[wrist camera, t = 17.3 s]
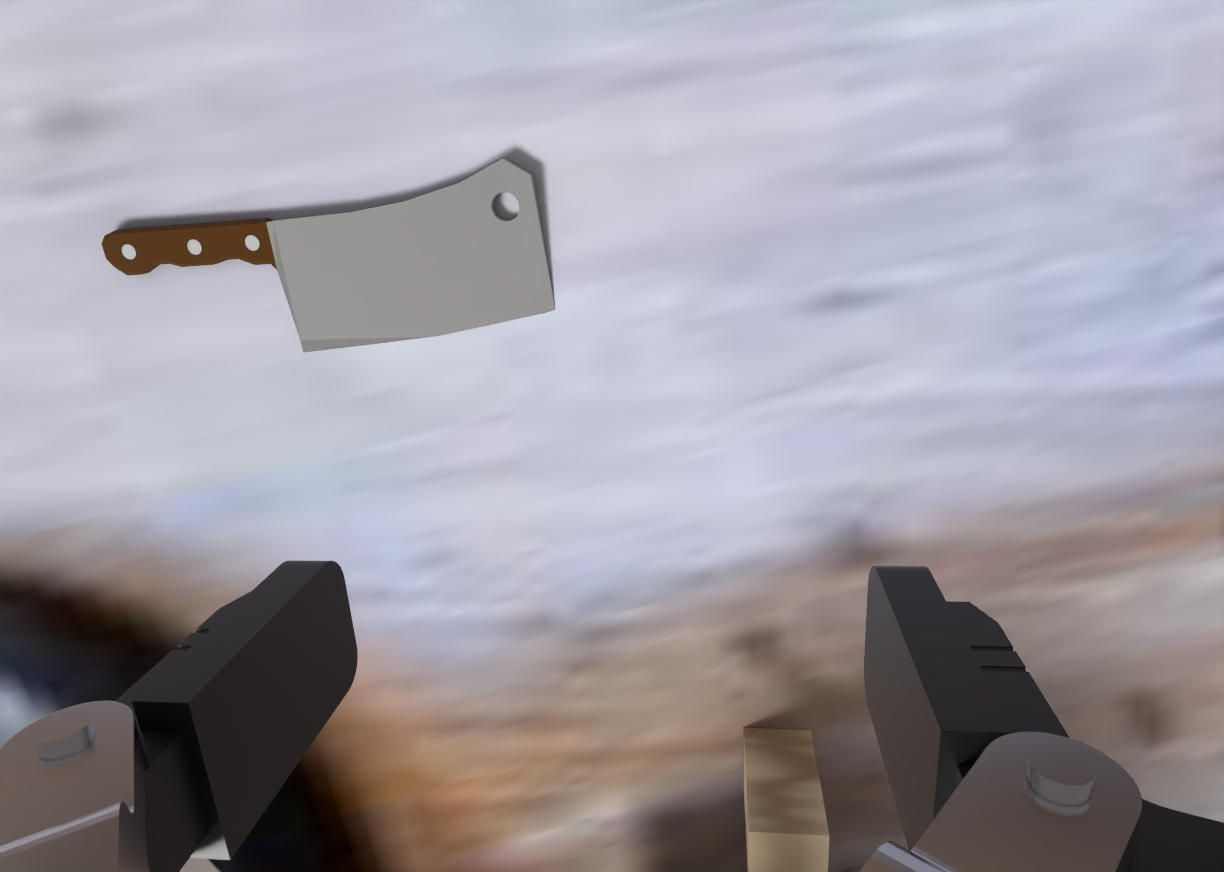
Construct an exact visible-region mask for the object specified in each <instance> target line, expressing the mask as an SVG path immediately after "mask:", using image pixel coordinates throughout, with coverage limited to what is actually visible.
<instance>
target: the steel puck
mask: <svg viewBox="0 0 1224 872" xmlns="http://www.w3.org/2000/svg"><path fill="white" fill-rule="evenodd" d="M861 868H862V867H855V868H851V869H848V870H845V871H843V872H859V871H860V870H861Z"/></svg>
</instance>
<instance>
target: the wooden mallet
mask: <svg viewBox="0 0 1224 872" xmlns="http://www.w3.org/2000/svg"><path fill="white" fill-rule="evenodd" d="M743 782H744V803H745V824H746V845H747V866H748V872H828V859H829V830H828V824H827V819H826V813H825V807H824V801H823V795H822V790H821V784H820V778H819V772H818V767H817V761H816V755H815V749H814V743H813V738H812V732H811V730H798V729H771V728H744V727H743Z"/></svg>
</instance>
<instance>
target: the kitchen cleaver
mask: <svg viewBox="0 0 1224 872" xmlns="http://www.w3.org/2000/svg"><path fill="white" fill-rule="evenodd" d="M501 192H509V193H511V194H513V195H514V196H515V197H516V198H517V200H518V202H519V213H518V215H517V216H516V218H514V219H512V220H505V219H502V218H501V217H500V216H498V214H497V213H496V211H495V208H494V201H495V199H496V197H497V195H498V194H500V193H501ZM102 247H103V250H104V253H105V256H106V259H107V260H108V261H109V262H110V263H111V264H112V265H113V266H114V267H115V268H117V269H118V270H120V271H122V272H123V273H125V274H126V275H138V274H145V273H149V272H151V271H152V270H153V269H155V268H156V267H157V266H159V265H160V264H173V265H177V266H181V267H185V266H199V265H214V264H217V263H220V262H223V261H225V260H228V259H240V260H243V261H246V262H249V263H251V264H254V265H259V264H272V266H274V267H275V268H276V269H277V271H278V274H279V277H280V280H281V283H282V286H283V289H284V292H285V295H286V298H287V301H288V304H289V307H290V310H291V313H292V316H293V319H294V322H295V325H296V328H297V331H298V334H299V337H300V340H301V344H302V348H303V352H311V351H319V350H328V349H336V348H344V347H353V346H361V345H370V344H378V343H386V342H394V341H401V340H409V339H417V338H425V337H433V336H440V335H445V334H449V333H454V332H459V331H463V330H468V329H473V328H477V327H482V326H487V325H491V324H496V323H501V322H505V321H509V320H514V319H519V318H523V317H528V316H532V315H537V314H541V313H542V314H543V313H546V312H549V311H552V310H555V304H554V298H553V292H552V285H551V279H550V273H549V267H548V261H547V254H546V248H545V242H544V236H543V230H542V223H541V217H540V211H539V205H538V199H537V192H536V186H535V180H534V174H532V173H531V172H529V171H527V170H526V169H524V168H522V167H520V166H519V165H517V164H515V163H514V162H512V161H510V160H509V159H507V158H502V159H500V160H499V161H497V162H495V163H493V164H492V165H490V166H488V167H486V168H485V169H483V170H481V171H479V172H478V173H476V174H474V175H472V176H471V177H469V178H467V179H465V180H463V181H462V182H460V183H457V184H454V185H451V186H448V187H445V188H442V189H439V190H436V191H433V192H430V193H427V194H424V195H421V196H418V197H415V198H413V199H410V200H407V201H402V202H397V203H392V204H387V205H382V206H377V207H372V208H367V209H362V210H357V211H350V212H341V213H332V214H323V215H314V216H305V217H296V218H287V219H279V220H275V221H274V220H271V219H269V218H266V219H252V220H239V221H226V222H212V223H199V224H186V225H173V226H160V227H147V228H133V229H122V230H117V231H113V232H111V233H109V234H107V235H105V236H104V239H103V241H102Z"/></svg>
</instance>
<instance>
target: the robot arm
mask: <svg viewBox="0 0 1224 872" xmlns="http://www.w3.org/2000/svg"><path fill="white" fill-rule="evenodd" d="M196 630H197V631H196V633H191V634H190V635H189V636H188V637H187V638H186V639H185V640H183V641H182V642H181V643H180V644H179V645H178V649H177V650H172V651H171V652H170V653H169V654H168V655H167V656H166V657H164V658H163V659H162V660H161V661H160V662H159V663H158V664H157V665H155V666H154V667H153V668H152V669H151V670H150V671H149V672H148V673H146V674H145V675H144V676H143V677H142V678H141V679H140V680H139V681H138V682H136V683H135V684H134V685H133V686H132V687H131V688H130V689H129V690H127V691H126V692H125V693H124V694H123V695H122V696H121V697H120V698H118V699H117V700H116V701H115V702H114V701H96V702H89V703H84V704H79V705H76V706H72V707H68V708H66V709H63V710H60V711H57V712H55V713H52V714H50V715H48V716H46V717H44V718H42V719H40V720H38V721H36V722H34V723H32V724H30V725H29V726H27V727H25V728H24V729H23V730H21V731H20V732H18V733H17V734H16V735H14V736H13V737H12V738H11V739H10V740H8V741H7V742H6V743H5V745H4V746H3V747H2V748H1V749H0V872H179V871H180V870H181V868H182V867H183V866H184V864H185V863H186V861H187V860H188V859H189V858H206V859H222V860H231V858H232V857H233V855H234V854H235V852H236V851H237V850H238V848H239V847H240V845H241V844H242V842H243V841H244V840H245V838H246V837H247V835H248V834H249V832H250V831H251V829H252V828H253V827H254V825H255V824H256V822H257V821H258V819H259V818H260V817H261V815H262V814H263V812H264V811H265V809H266V808H267V807H268V805H269V804H270V802H271V801H272V799H273V798H274V797H275V795H276V794H277V792H278V791H279V789H280V788H281V787H282V785H283V784H284V782H285V781H286V779H287V778H288V777H289V775H290V774H291V772H292V771H293V769H294V768H295V767H296V765H297V764H298V762H299V761H300V759H301V758H302V757H303V755H304V754H305V752H306V751H307V749H308V748H309V747H310V745H311V744H312V742H313V741H314V739H315V738H316V737H317V735H318V734H319V732H320V731H321V729H322V728H323V726H324V725H325V724H326V722H327V721H328V719H329V718H330V716H331V715H332V714H333V712H334V711H335V709H336V708H337V706H338V705H339V704H340V702H341V701H342V699H343V698H344V696H345V695H346V694H347V692H348V691H349V689H350V687H351V685H352V683H353V680H354V677H355V673H356V668H357V645H356V640H355V634H354V629H353V623H352V618H351V612H350V607H349V601H348V596H347V590H346V585H345V579H344V575H343V572H342V569H341V567H340V566H339V565H338V563H336V562H334V561H286V562H284V563H282V564H281V565H280V566H279V567H278V568H277V569H275V570H274V571H273V572H272V573H271V574H270V575H269V576H268V577H267V578H266V579H265V580H263V581H262V582H261V583H260V584H259V585H258V586H257V587H256V588H255V589H254V590H253V591H251V592H249V593H247V594H245V595H244V596H242V597H240V598H238V599H236V600H234V601H233V602H231V603H229V604H227V605H225V606H223V607H221V608H220V609H218V610H217V611H216V612H215V613H214V614H213V615H212V616H210V617H209V618H208V619H207V620H206V621H205V622H204V623H203V624H201V625H200V626H199V627H198V628H197V629H196ZM864 676H865V689H866V696H867V702H868V706H869V710H870V714H871V717H872V721H873V724H874V728H875V731H876V735H877V738H878V742H879V745H880V749H881V752H882V756H883V759H884V763H885V766H886V770H887V773H888V777H889V780H890V784H891V787H892V791H893V794H894V798H895V801H896V805H897V808H898V812H899V815H900V819H901V822H902V826H903V829H904V833H905V836H906V840H907V844H908V847H909V850H908V849H906V848H904V847H902V846H900V845H898V844H897V843H895V842H892V841H889V842H886V843H884V844H882V845H881V846H880V847H879V848H878V849H877V850H876V851H875V852H874V853H873V854H872V856H871V857H870V858H869V859H868V861H867V862H866V863H865V865H864V866H863V867H862V868H861V870H860V871H859V872H1224V823H1222V822H1218V821H1214V820H1210V819H1206V818H1202V817H1198V816H1195V815H1191V814H1187V813H1183V812H1179V811H1175V810H1172V809H1168V808H1165V807H1162V806H1159V805H1156V804H1153V803H1151V802H1148V801H1146V800H1143V799H1142V797H1141V794H1140V791H1139V789H1138V787H1137V785H1136V784H1135V782H1134V780H1133V779H1132V778H1131V777H1130V775H1129V774H1128V773H1127V772H1126V771H1125V770H1124V769H1123V768H1122V767H1121V766H1120V765H1118V764H1117V763H1116V762H1115V761H1113V760H1112V759H1111V758H1109V757H1108V756H1106V755H1105V754H1103V753H1101V752H1100V751H1098V750H1096V749H1094V748H1092V747H1090V746H1088V745H1086V744H1083V743H1081V742H1079V741H1076V740H1073V739H1070V738H1069V736H1068V735H1067V733H1066V731H1065V730H1064V728H1063V727H1062V725H1061V723H1060V722H1059V720H1058V719H1057V717H1056V715H1055V714H1054V712H1053V711H1052V709H1051V707H1050V706H1049V704H1048V702H1047V701H1046V699H1045V698H1044V696H1043V694H1042V693H1041V691H1040V690H1039V688H1038V686H1037V685H1036V683H1035V682H1034V680H1033V678H1032V677H1031V675H1030V674H1029V672H1026V670H1025V665H1024V664H1023V662H1022V661H1021V659H1020V657H1019V656H1018V654H1017V653H1016V652H1014V651H1013V646H1012V645H1011V643H1010V641H1009V640H1008V638H1007V637H1006V635H1005V633H1004V632H1003V630H1002V628H1001V627H1000V625H999V624H998V622H996V621H995V620H993V619H992V618H991V617H989V616H988V615H987V614H985V613H984V612H982V611H981V610H980V609H978V608H977V607H975V606H974V605H973V604H971V603H970V602H946V600H945V598H944V597H943V595H942V593H941V591H940V589H939V587H938V585H937V583H936V582H935V580H934V578H933V576H932V574H931V572H930V570H929V569H928V568H927V567H922V566H872V567H871V570H870V573H869V580H868V598H867V617H866V637H865V656H864Z"/></svg>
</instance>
